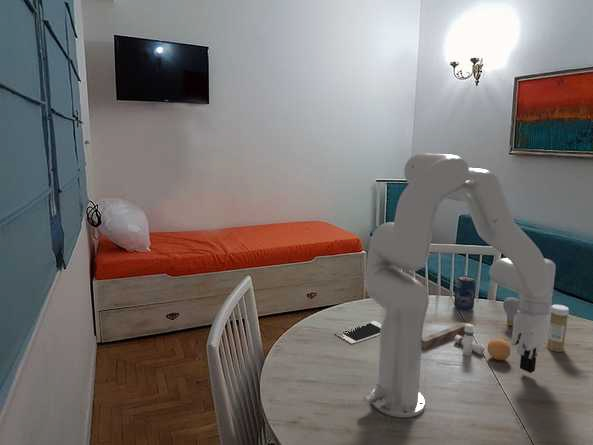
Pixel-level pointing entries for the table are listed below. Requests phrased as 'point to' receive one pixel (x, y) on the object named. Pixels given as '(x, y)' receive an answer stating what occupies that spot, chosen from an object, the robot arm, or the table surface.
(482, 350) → the front pin
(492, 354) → the ball
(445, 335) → the brown wooden bar
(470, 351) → the side pin
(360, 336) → the cell phone
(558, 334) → the sprinkles bottle
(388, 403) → the robot arm
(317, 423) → the table surface
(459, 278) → the soda can
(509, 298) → the light bulb
